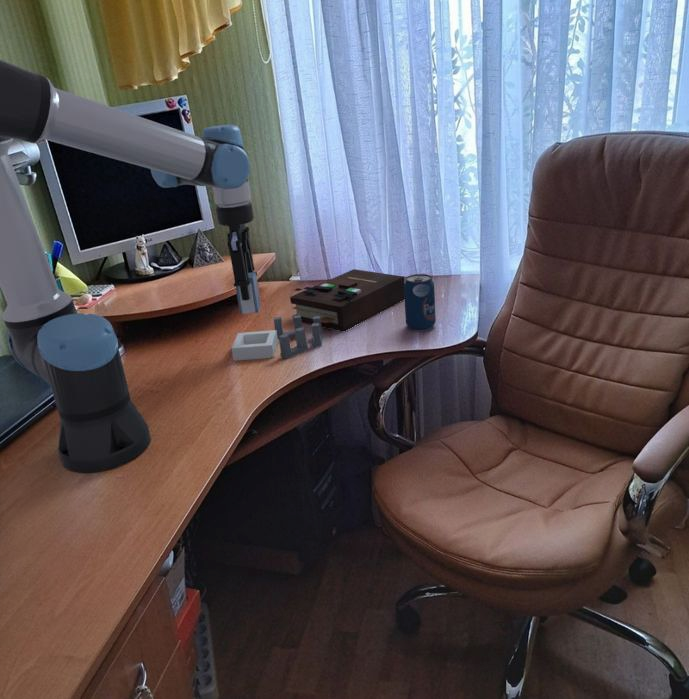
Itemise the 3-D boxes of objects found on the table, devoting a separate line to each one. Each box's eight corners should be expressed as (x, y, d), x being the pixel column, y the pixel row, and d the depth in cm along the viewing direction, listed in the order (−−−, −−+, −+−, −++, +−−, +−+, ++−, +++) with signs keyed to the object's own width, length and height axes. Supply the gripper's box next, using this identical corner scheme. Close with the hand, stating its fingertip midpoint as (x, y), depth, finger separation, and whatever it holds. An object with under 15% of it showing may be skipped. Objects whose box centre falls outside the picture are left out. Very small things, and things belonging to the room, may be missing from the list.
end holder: (233, 360, 147) (231, 348, 145) (240, 345, 155) (238, 333, 154) (273, 357, 146) (271, 345, 145) (278, 342, 154) (276, 330, 153)
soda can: (432, 332, 151) (430, 282, 146) (402, 331, 153) (400, 282, 149) (438, 321, 157) (436, 273, 152) (410, 320, 159) (407, 273, 155)
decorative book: (412, 271, 172) (338, 307, 151) (414, 298, 175) (341, 338, 154) (355, 263, 184) (279, 295, 163) (357, 289, 187) (283, 324, 166)
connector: (258, 312, 145) (252, 272, 141) (240, 314, 145) (233, 273, 141) (260, 306, 149) (254, 266, 145) (242, 307, 149) (236, 268, 145)
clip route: (269, 360, 145) (266, 339, 143) (276, 336, 158) (274, 317, 156) (320, 356, 144) (317, 335, 142) (323, 333, 157) (320, 313, 155)
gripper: (223, 197, 145) (240, 298, 155) (207, 213, 130) (227, 324, 139) (256, 194, 145) (271, 295, 154) (244, 210, 129) (262, 321, 139)
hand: (250, 308), depth 147 cm, fingers closed on connector, 4 cm apart
